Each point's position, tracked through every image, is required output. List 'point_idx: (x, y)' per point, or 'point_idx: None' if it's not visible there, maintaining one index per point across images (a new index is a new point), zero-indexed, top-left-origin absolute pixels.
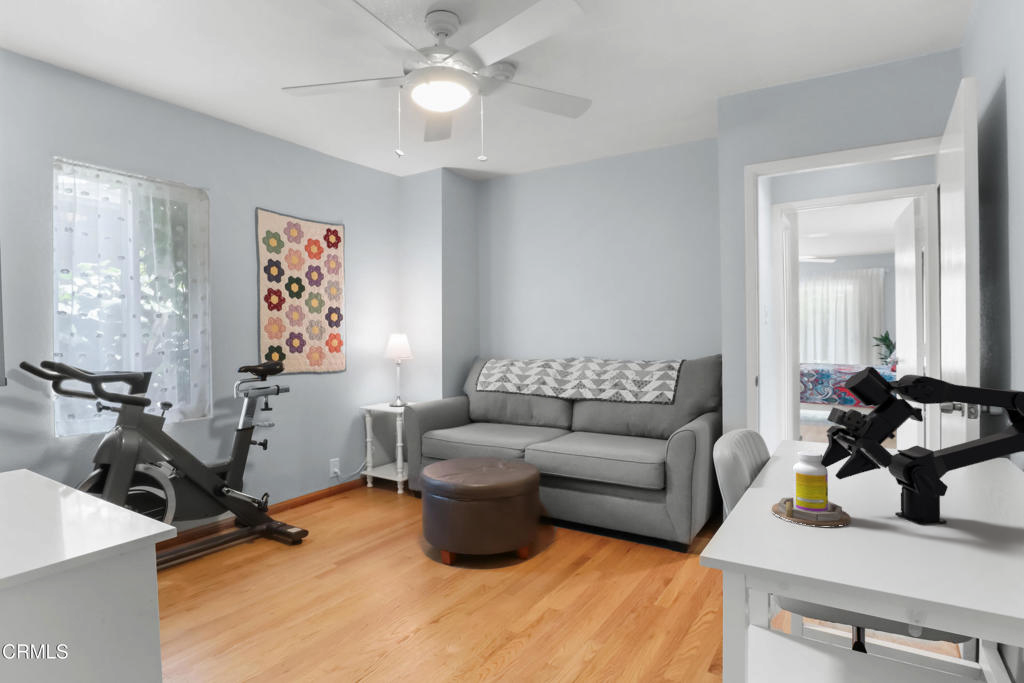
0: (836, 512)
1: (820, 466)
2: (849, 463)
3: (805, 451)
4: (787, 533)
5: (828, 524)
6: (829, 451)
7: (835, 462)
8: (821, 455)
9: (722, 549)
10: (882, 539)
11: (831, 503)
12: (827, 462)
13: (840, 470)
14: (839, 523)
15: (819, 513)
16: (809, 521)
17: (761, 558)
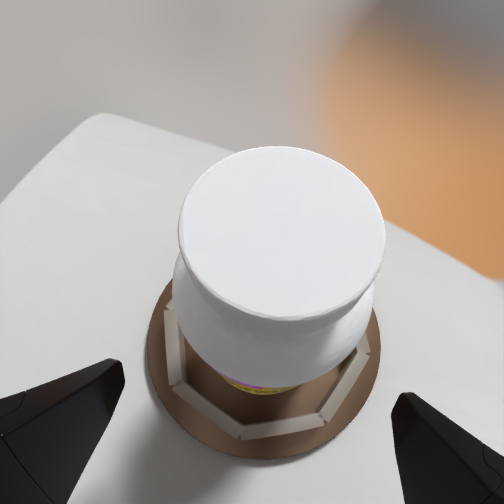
0: (173, 382)
1: (203, 304)
2: (14, 400)
3: (361, 211)
4: (132, 220)
5: (149, 337)
6: (463, 474)
7: (405, 498)
8: (195, 282)
9: (106, 121)
10: None
11: (286, 424)
12: (409, 448)
13: (80, 372)
14: (151, 374)
15: (167, 317)
16: (170, 291)
17: (64, 154)
